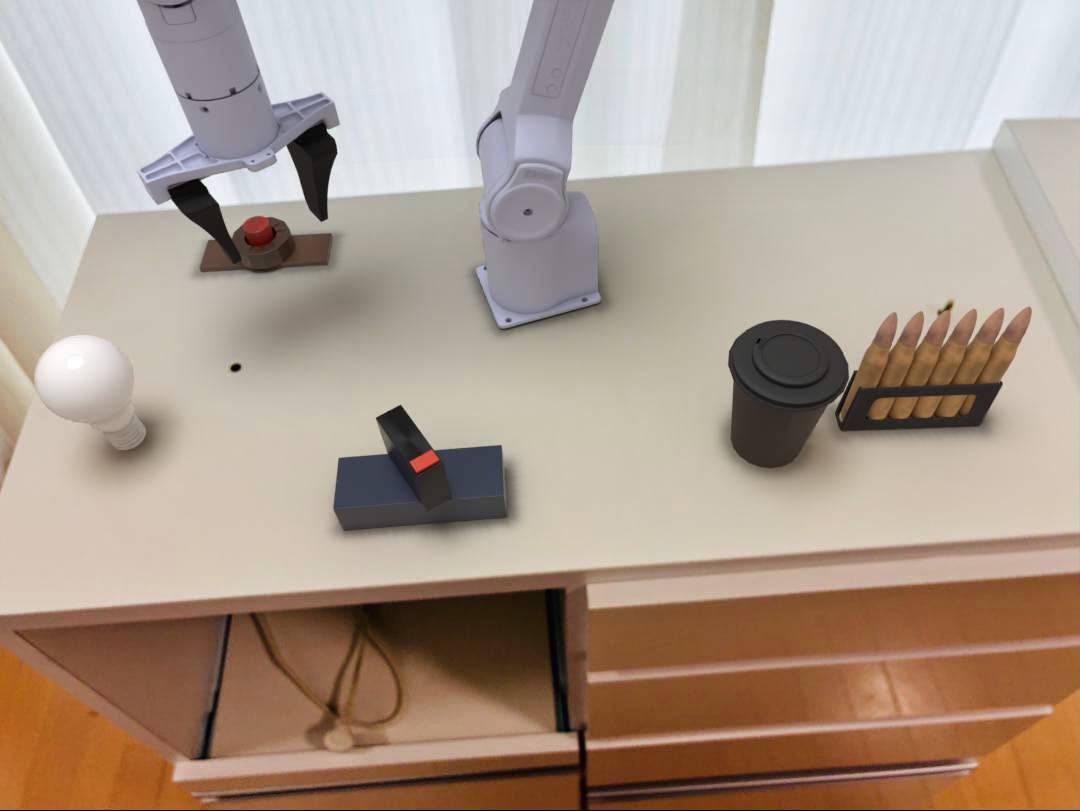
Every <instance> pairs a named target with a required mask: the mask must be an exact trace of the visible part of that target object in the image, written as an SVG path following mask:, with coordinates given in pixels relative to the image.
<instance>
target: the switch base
mask: <svg viewBox="0 0 1080 811" xmlns="http://www.w3.org/2000/svg"><path fill="white" fill-rule="evenodd" d="M434 451H435V452H436V453H437V455H438V456H439V458H440V459H441V460H442V462H443V465H444V469H445V473H446V477H447V481H448V485H449V489H450V493H451V497H452V498H451V499H449V500H448V501H446V502H444V503H442V504H441V505H439V506H437V507H435V508H434V509H432V510H430V511H428V512H427V511H426V510H425V508H424V507H423V505H422V504H421V502H420V501H419V500H418V498H417V497H416V495H415V494H414V492H413V491H412V489H411V488H410V486H409V485H408V483H407V482H406V480H405V479H404V477H403V476H402V475H401V473H400V472H399V470H398V469H397V467H396V466H395V464H394V463H393V461H392V460H391V458H390V457H389V455H388V453H381V454H380V453H379V454H368V455H367V454H366V455H355V456H343V457H338V458H337V459H338V460H337V470H336V479H335V486H334V487H335V488H334V496H333V497H334V498H333V506H332V507H333V508H332V509H333V512H334V514H335V516H336V518H337V521H338V523H339V524H340V526H341V530H343V531H351V530H352V531H353V530H361V529H363V530H364V529H374V528H388V527H400V526H401V527H402V526H413V525H427V524H439V523H451V522H452V523H453V522H465V521H478V520H489V519H500V518H501V519H502V518H503V519H504V518H508V505H507V503H508V502H507V484H506V483H507V482H506V466H505V459H504V452H503V446H502V444H495V445H484V446H470V447H469V446H468V447H456V448H445V449H443V448H442V449H434Z"/></svg>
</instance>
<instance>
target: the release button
mask: <svg viewBox="0 0 1080 811" xmlns="http://www.w3.org/2000/svg"><path fill="white" fill-rule="evenodd" d="M266 217H267V216H266ZM266 217H265V216H263V215H255V216H251V217H249V218H248V219H246V220H245V221H244V222H243V224H242V225H243V230H244V232H245V235H246V237H247V239H248V242H249V243H250V244H251V245H252V246H263V245H266V244H268V243H270V242H271V241H272V240H273V239H274V233H273V231H272V228H271V226H270V223H269V220H268V219H267V218H266Z"/></svg>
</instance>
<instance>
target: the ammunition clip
mask: <svg viewBox="0 0 1080 811" xmlns="http://www.w3.org/2000/svg"><path fill="white" fill-rule="evenodd" d="M1032 310H1033V309H1032V307H1031V306H1027V307H1024V308H1023V309H1022V310H1021V311H1019V312H1018V313H1017V314H1016V315H1015V316H1014V317H1013V318H1012V320H1011V321H1010V322H1009V323H1008V324H1007V326H1006V328H1005V329H1004V331H1003V332H1002V333H1001V335H1000V332H1001V329H1002V327H1003V323H1004V320H1005V309H1004V307H1000V308H999V307H998V308H997V309H996V310H995V311H993V312H992V313H991V314H990V315H989V316H988V317H987V318H986V320H985V321H984V322H983V324H982V325H981V326H980V328H979V330H978V331H977V333H976V334H975V335H974V337H973V333H974V331H975V329H976V326H977V320H978V312H977V309H976V308H973V309H970V310H969V311H968V312H967V313H965V314H964V316H962V318H960V319H959V321H958V323H956V325H955V326H954V328H953V331H952V332H951V333H950V335H949V337H948V338H947V334H948V332H949V328H950V324H951V311H950V310H949V309H946V310H944V311H943V312H941V313H940V314H939V315H938V316H937V317H936V318H935V320H934V321H933V322H932V323H931V325H930V327H929V328H928V330H927V332H926V333H925V335H924V337H923V339H921V342H920V344H918V343H919V340H920V338H921V335H922V332H923V329H924V324H925V323H924V322H925V315H924V312H923V310H921V311H918V312H916V313H915V314H914V315H912V317H911V318H910V319H909V320H908V322H907V323H906V325H905V326H904V328H903V329H902V332H901V334H900V336H899V337H898V339H897V340H896V343H895V344H894V346H893V342H894V340H895V337H896V333H897V329H898V320H899V319H898V314H897V313H896V312H895V311H893V312H891V313H890V314H889V315H887V316H886V318H885V319H884V320H883V321H882V323H881V324H880V326H879V328H878V329H877V331H876V333H875V335H874V337H873V339H872V341H871V343H870V345H869V347H868V348H867V349H866V350H865V352H864V354H863V356H862V359H861V361H860V364H859V367H858V369H856V370H855V369H854V370H853V372H852V375H851V376H850V378H849V380H848V383H847V385H846V387H845V390H844V392H843V393H842V396H841V398H840V400H839V403H838V405H837V407H836V408H835V410H834V415H835V417H836V421H837V424H838V428H839V430H840V431H841V432H862V431H885V430H886V431H887V430H888V431H889V430H913V429H914V430H915V429H941V428H944V429H945V428H966V427H970V428H971V427H980V426H981V425H982V423H983V421H984V420H985V417H986V416H987V413H988V412H989V411H990V409H991V407H992V405H993V403H994V402H995V400H996V398H997V396H998V394H999V392H1000V391H1001V389H1002V387H1003V385H1004V383H1003V380H1002V379H1003V378H1004V376H1005V374H1006V372H1007V371H1008V370H1009V367H1010V366H1011V365H1012V363H1013V361H1014V359H1015V357H1016V355H1017V352H1018V348H1019V346H1020V344H1021V342H1022V340H1023V338H1024V336H1025V334H1026V332H1027V330H1028V328H1029V326H1030V324H1031V319H1032V314H1033V313H1032V312H1033V311H1032ZM999 335H1000V337H999V338H998V336H999ZM972 337H973V339H972ZM946 338H947V340H946V342H945V343H944V341H945V339H946ZM997 338H998V339H997ZM971 339H972V340H971ZM970 340H971V341H970ZM969 342H970V343H969Z"/></svg>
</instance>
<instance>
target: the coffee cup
mask: <svg viewBox="0 0 1080 811" xmlns="http://www.w3.org/2000/svg"><path fill="white" fill-rule="evenodd" d="M728 350H729V351H728V359H727V360H728V361H727V366H728V369H729V373H730V376H731V378H732V380H733V383H732V401H731V402H732V404H731V419H730V420H731V422H730V441H731V444H732V448H733V449H734V451H735V452H736V453H737V456H739V457H740V458H741V459H743V460H744V461H745V462H747V463H749V464H751V465H754V466H756V467H758V468H765V469H777V468H782V467H784V466H787V465H788V464H791V463H792V462H793V461H794V460H795V459H796V458H798V456H799V455H800V453H801V452H802V450H803V448H804V446H805V444H806V443H807V441H808V440H809V438H810V436H811V434H812V433H813V431H814V429H815V428H816V426H817V424H818V423H819V421H820V420H821V417H822V416H823V415H824V413H825V412H826V410H827V408H828V406H829V405H831V404H833V403H834V402H835V401H836V400H837V399H838V398H839V397H841V395H843V394H844V391H845V389H846V387H847V385H848V383H849V381H850V369H849V362H848V360H847V358H846V355H845V354H844V352H843V350H842V348H841V347H840V345H839V344H838V343H837V341H835V339H834V338H832V337H831V336H830V335H829V334H827V333H826V332H825V331H823V330H822V329H819V328H818V327H816V326H813V325H811V324H808V323H806V322H803V321H802V322H801V321H797V320H791V319H774V320H767V321H763V322H760V323H756V324H755V325H753V326H751V327H750V328H747V329H746V330H745V331H743V332H742V333H740V334H739V335H738V337H736V338H735V339H734V341H733V343H732V345H731V346H730V348H729V349H728Z"/></svg>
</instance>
